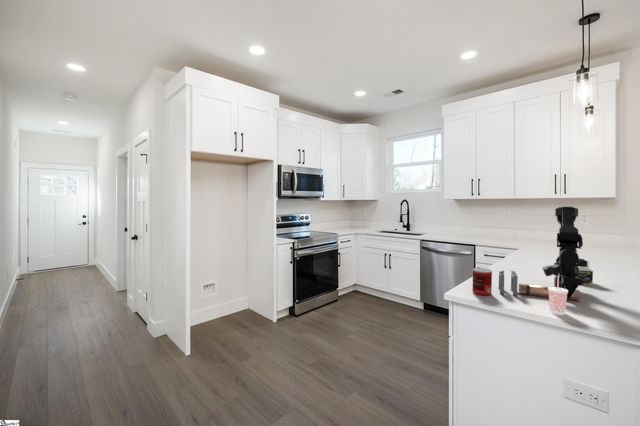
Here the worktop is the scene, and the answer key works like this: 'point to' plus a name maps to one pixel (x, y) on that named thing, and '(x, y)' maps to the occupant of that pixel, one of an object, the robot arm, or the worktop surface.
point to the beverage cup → (557, 299)
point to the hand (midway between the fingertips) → (566, 296)
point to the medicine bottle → (585, 271)
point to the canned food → (482, 281)
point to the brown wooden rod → (543, 291)
